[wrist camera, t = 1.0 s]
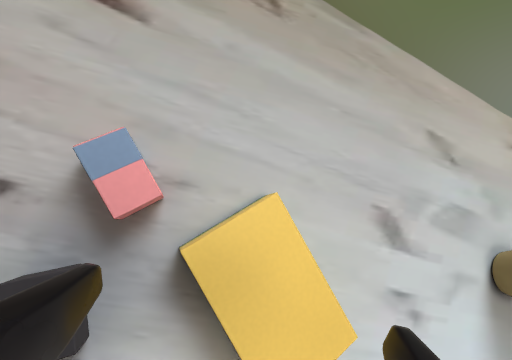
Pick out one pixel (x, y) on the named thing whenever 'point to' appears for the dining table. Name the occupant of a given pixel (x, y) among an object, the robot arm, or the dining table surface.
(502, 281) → the squeeze bottle
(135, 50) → the dining table surface
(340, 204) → the dining table surface
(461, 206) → the dining table surface
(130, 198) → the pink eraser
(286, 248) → the sponge
